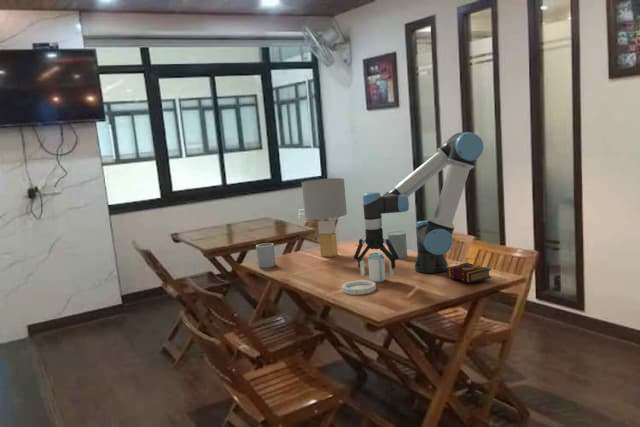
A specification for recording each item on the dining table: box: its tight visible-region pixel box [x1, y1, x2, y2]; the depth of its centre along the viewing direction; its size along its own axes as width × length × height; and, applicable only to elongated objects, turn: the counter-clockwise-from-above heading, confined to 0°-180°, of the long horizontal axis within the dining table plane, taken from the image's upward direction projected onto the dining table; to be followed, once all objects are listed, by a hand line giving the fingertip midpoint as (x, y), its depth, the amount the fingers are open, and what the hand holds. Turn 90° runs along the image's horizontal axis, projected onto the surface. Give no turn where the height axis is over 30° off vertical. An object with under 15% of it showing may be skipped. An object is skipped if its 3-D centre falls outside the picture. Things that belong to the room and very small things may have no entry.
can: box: [367, 252, 386, 283], centre depth 245 cm, size 7×7×12 cm
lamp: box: [301, 177, 348, 258], centre depth 300 cm, size 23×23×42 cm
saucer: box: [341, 279, 377, 296], centre depth 233 cm, size 14×14×2 cm
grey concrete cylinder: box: [387, 231, 408, 260], centre depth 288 cm, size 10×10×12 cm
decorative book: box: [446, 262, 492, 283], centre depth 238 cm, size 11×16×5 cm
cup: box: [255, 242, 276, 269], centre depth 290 cm, size 9×9×12 cm
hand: (377, 275), depth 245 cm, fingers open, 13 cm apart
